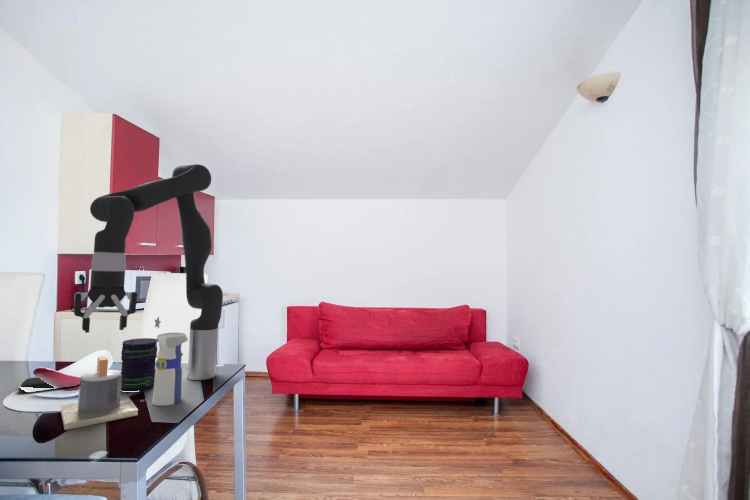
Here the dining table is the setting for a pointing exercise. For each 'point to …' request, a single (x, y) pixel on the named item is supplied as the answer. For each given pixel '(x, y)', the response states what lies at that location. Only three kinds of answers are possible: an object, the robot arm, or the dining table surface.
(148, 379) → the storage jar
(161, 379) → the white plastic tall bottle
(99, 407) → the grey container on board
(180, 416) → the dining table surface
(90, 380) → the white lid with handle
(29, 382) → the carrying case or bag
